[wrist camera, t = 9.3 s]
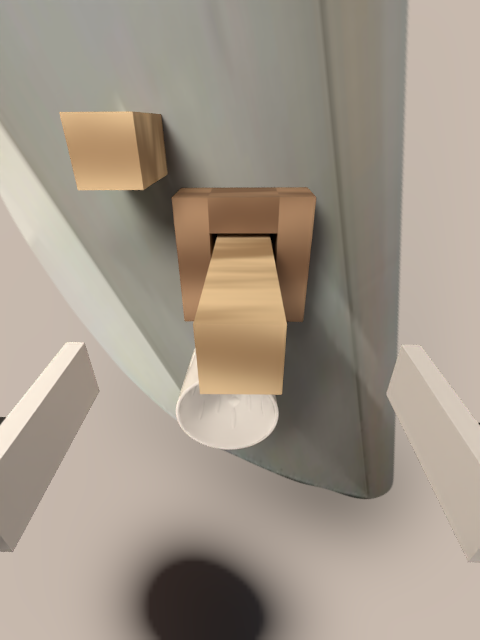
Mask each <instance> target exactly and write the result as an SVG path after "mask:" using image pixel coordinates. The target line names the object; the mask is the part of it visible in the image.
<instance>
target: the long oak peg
mask: <svg viewBox="0 0 480 640" xmlns="http://www.w3.org/2000/svg"><path fill="white" fill-rule="evenodd" d="M193 328H194V338H195V348H196V358H197V368H198V379H199V389H200V394H265V395H282V386H283V372H284V358H285V344H286V330H287V322H286V317H285V312H284V307H283V302H282V296H281V291H280V286H279V281H278V276H277V270H276V265H275V260H274V255H273V250H272V244H271V239H270V234H269V233H218V235H217V239H216V243H215V246H214V250H213V254H212V257H211V261H210V265H209V268H208V272H207V276H206V279H205V283H204V287H203V290H202V294H201V298H200V301H199V305H198V309H197V312H196V316H195V320H194V323H193Z"/></svg>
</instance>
